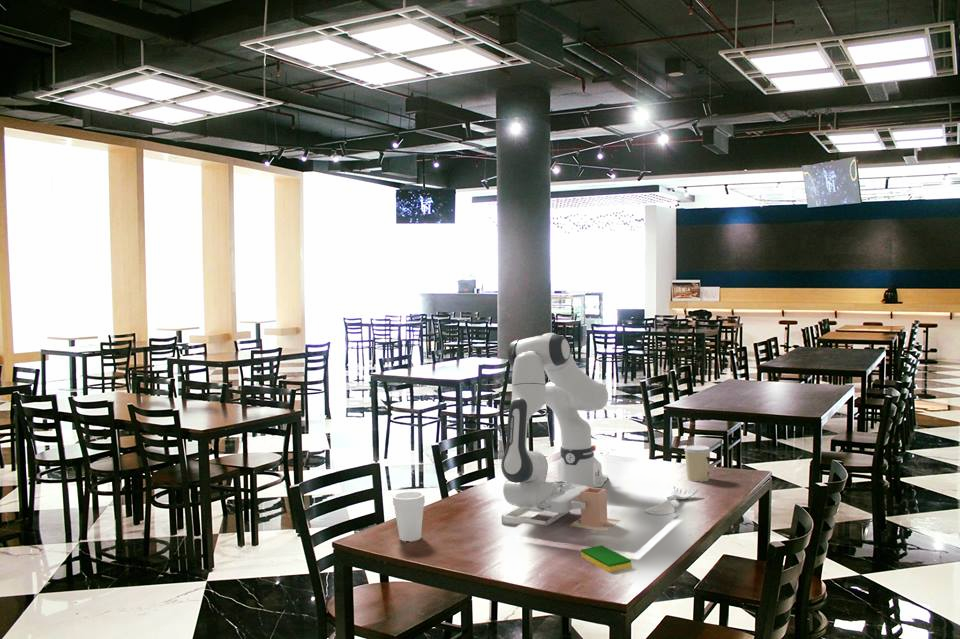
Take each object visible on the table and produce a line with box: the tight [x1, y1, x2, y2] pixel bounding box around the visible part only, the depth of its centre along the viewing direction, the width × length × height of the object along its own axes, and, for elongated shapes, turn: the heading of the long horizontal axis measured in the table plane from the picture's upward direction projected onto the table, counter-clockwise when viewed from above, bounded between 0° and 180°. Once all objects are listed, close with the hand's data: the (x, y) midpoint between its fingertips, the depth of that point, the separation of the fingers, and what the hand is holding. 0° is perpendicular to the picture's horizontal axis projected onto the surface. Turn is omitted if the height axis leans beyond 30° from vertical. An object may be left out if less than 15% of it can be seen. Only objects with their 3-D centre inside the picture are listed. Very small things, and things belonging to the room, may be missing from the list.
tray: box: [501, 506, 570, 527], centre depth 246 cm, size 16×16×2 cm
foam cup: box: [392, 490, 426, 542], centre depth 232 cm, size 10×9×13 cm
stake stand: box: [568, 517, 621, 532], centre depth 236 cm, size 12×12×8 cm
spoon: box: [644, 485, 699, 516], centre depth 256 cm, size 9×32×4 cm, turn 147°
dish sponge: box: [580, 545, 632, 573], centre depth 206 cm, size 7×14×2 cm, turn 25°
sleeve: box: [580, 487, 608, 527], centre depth 236 cm, size 6×6×10 cm
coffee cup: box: [684, 444, 711, 483], centre depth 290 cm, size 9×9×12 cm
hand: (592, 501), depth 236 cm, fingers open, 8 cm apart
